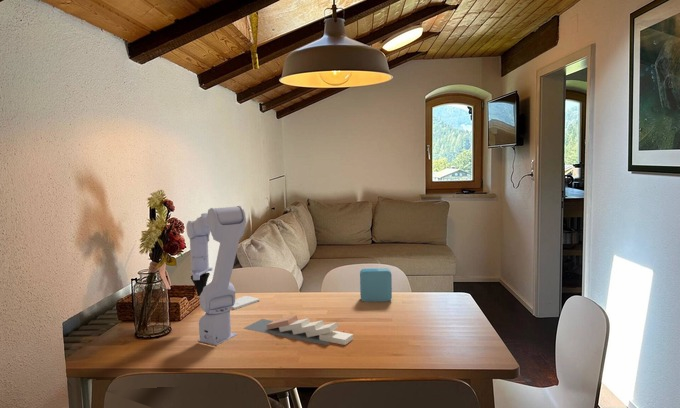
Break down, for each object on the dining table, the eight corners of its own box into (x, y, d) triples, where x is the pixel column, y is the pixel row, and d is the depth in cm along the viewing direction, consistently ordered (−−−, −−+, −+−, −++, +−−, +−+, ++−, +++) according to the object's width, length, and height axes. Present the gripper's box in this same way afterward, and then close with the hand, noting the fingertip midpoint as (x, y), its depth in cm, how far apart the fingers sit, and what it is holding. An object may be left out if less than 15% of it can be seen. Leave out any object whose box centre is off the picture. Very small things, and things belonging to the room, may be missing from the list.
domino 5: (319, 339, 144) (345, 345, 140) (319, 334, 144) (345, 339, 140) (327, 334, 149) (353, 339, 144) (327, 329, 149) (352, 334, 144)
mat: (326, 346, 140) (326, 345, 140) (243, 329, 156) (243, 328, 156) (342, 335, 149) (342, 333, 149) (262, 320, 164) (262, 318, 164)
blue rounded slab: (390, 297, 187) (390, 268, 186) (391, 301, 183) (391, 270, 181) (360, 298, 187) (359, 268, 186) (360, 301, 183) (360, 271, 182)
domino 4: (307, 337, 146) (330, 332, 142) (305, 332, 147) (329, 327, 142) (315, 332, 151) (338, 327, 146) (314, 327, 151) (337, 322, 147)
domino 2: (280, 332, 152) (302, 327, 147) (278, 327, 152) (300, 322, 147) (289, 327, 156) (310, 322, 151) (287, 322, 156) (309, 317, 152)
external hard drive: (259, 302, 186) (234, 311, 177) (245, 299, 191) (220, 307, 182) (259, 298, 186) (234, 307, 176) (245, 295, 191) (220, 303, 182)
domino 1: (267, 329, 154) (289, 325, 150) (266, 324, 154) (287, 320, 150) (277, 324, 158) (297, 320, 154) (275, 320, 158) (296, 315, 154)
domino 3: (293, 334, 149) (315, 330, 145) (291, 329, 149) (314, 325, 145) (302, 329, 153) (324, 325, 149) (300, 324, 154) (322, 320, 149)
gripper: (208, 260, 151) (209, 301, 153) (215, 250, 166) (216, 288, 167) (185, 261, 151) (187, 302, 152) (194, 251, 165) (196, 289, 167)
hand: (201, 295), depth 160 cm, fingers closed
